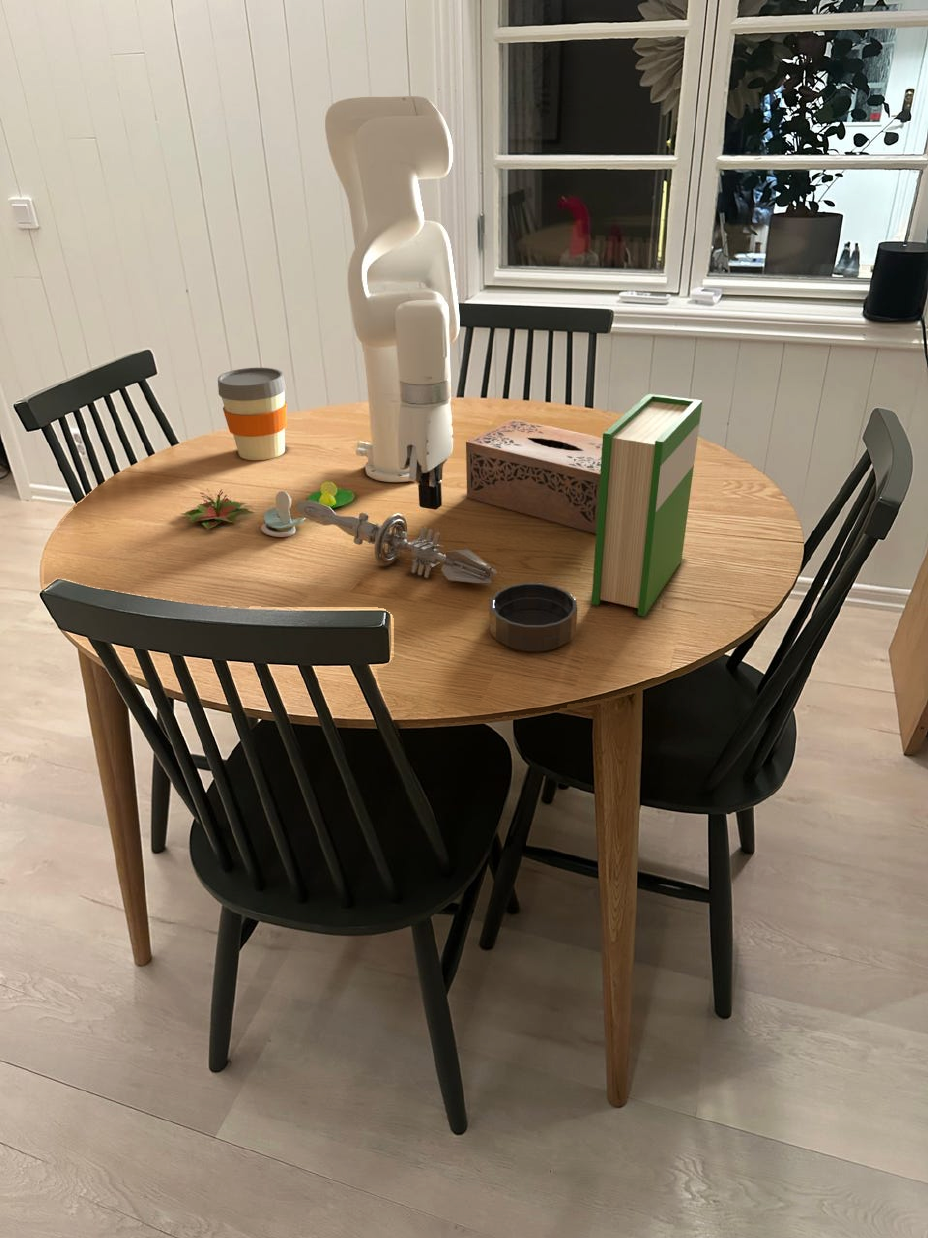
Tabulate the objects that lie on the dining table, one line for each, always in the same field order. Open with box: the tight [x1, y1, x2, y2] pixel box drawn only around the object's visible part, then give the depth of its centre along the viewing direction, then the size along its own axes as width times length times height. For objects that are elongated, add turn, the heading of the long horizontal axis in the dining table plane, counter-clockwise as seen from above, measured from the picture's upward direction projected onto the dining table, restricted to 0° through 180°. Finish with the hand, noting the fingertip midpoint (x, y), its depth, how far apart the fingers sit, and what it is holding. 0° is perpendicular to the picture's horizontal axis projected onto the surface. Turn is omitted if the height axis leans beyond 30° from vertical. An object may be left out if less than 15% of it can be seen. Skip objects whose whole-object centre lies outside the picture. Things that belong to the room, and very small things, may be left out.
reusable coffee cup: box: [217, 367, 288, 461], centre depth 163 cm, size 13×13×15 cm
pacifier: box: [260, 490, 306, 538], centre depth 135 cm, size 7×6×6 cm
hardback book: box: [591, 393, 703, 617], centre depth 113 cm, size 18×7×24 cm, turn 152°
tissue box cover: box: [465, 418, 603, 535], centre depth 142 cm, size 26×14×10 cm, turn 53°
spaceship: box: [295, 499, 498, 585], centre depth 124 cm, size 8×35×8 cm
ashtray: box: [489, 582, 578, 653], centre depth 108 cm, size 11×11×4 cm
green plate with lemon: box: [307, 481, 355, 509], centre depth 145 cm, size 8×8×3 cm
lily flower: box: [181, 488, 256, 531], centre depth 140 cm, size 12×12×5 cm
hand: (430, 506), depth 133 cm, fingers closed
